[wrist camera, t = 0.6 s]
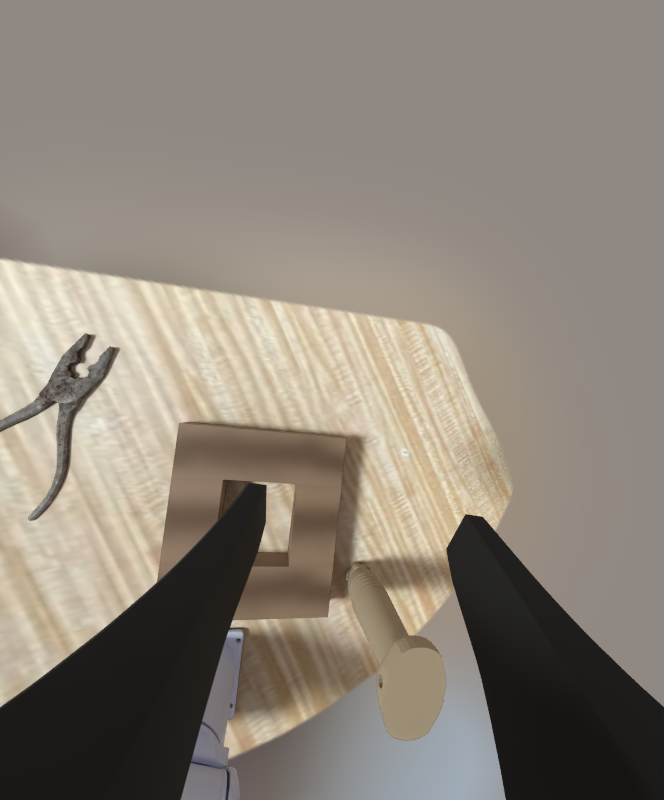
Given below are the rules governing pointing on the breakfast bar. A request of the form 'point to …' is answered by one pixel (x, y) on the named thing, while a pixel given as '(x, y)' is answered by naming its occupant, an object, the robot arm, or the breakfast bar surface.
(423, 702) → the handle
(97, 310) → the breakfast bar surface
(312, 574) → the socket plate
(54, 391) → the pliers
